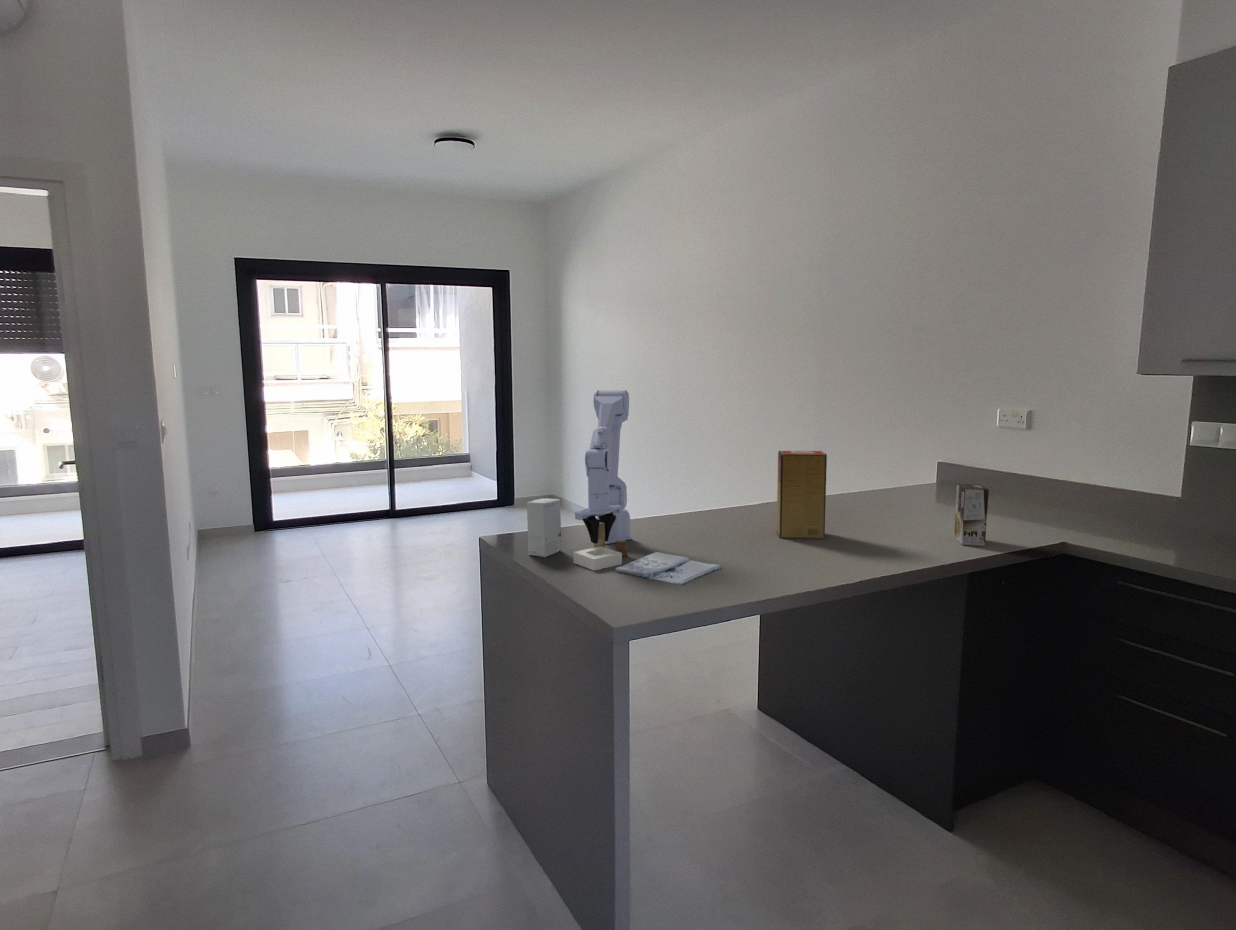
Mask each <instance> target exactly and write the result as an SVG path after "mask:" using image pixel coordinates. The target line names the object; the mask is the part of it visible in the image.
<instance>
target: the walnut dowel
mask: <svg viewBox="0 0 1236 930" xmlns="http://www.w3.org/2000/svg"><path fill="white" fill-rule="evenodd" d="M615 551H617V552H620V553H622V558H627V557H628V540H618V541H616V542H615Z"/></svg>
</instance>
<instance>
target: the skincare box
mask: <svg viewBox="0 0 1236 930" xmlns="http://www.w3.org/2000/svg"><path fill="white" fill-rule="evenodd" d="M526 513H527V514H526V515H527V546H528V548H527V549H528V550H527V551H528V553H527V554H528V555H529V556H536V557H541V558H547V557H549V556H551V555H554V554H557V553H560V552H561V551H562V523H561V499H558V498H548V497H547V498H546V497H543V498H539V499H534V500H531V501H527V502H526ZM559 551H560V552H559Z"/></svg>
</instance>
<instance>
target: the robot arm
mask: <svg viewBox="0 0 1236 930" xmlns="http://www.w3.org/2000/svg"><path fill="white" fill-rule="evenodd" d="M629 394H630V393H629V391H628V390H627V389H624V390H599V389H596V390H595V392H594V393H593V409H594V411H595V414H596V417H597V420H598V421H597V422H598V424H597V428H595V429H594V430H593V432H592V436H591V441H590V445H589V450H586V452H585V455H584V465H585V472H586V477H587V493H588V494H587V498H588V499H587V501H588V506H587V507H588V508H585V509H581V510H579V511H575V513H574V518H575V520H577V521H582V522H583V523H584V525H585V527H586V530H587V531H588V532H587V533H588V534H589V538H590V541H591V543H592V544H594V543H595V544H596V543H598V528H599V523H600V522H602V523H605V545H608V544H614V543H616V541H618V540H625V541H628V540H632V539H633V537H632V536H631V516H630V513H629V511H628V509H626V507H627V503H628V492H627V488H628V487H627V484H626V482H625V481H623V479H621V478H620V477H619V465H620V464H619V462H620V444H621V429H622V425H623V423H624V422H626V421H628V417H629V413H630V412H629V411H630V395H629Z"/></svg>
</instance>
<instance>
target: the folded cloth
mask: <svg viewBox="0 0 1236 930" xmlns="http://www.w3.org/2000/svg"><path fill="white" fill-rule="evenodd" d="M675 567H677V568H676V572H671V571H669V570H673V568H675ZM717 569H718V570H721V564H715V563H714V564H713V563H705V562H701V561H696V560H692V559H691V560H690V558H689V557H687V556H681V555H680V556H679V555H675V554H669V553H664V552H660V551H655V552H653V553H649V554H647V555H646V556H643V557H641V558H638V559H636V560H632V561H631V562H628V563H626V564H625V565H623V564H622V565H620V566H617V567H616V568H615V570H616V571H618V573H623V574H627V575H633V576H636V577H637V576H638V577H641V576H642V578H645V577H646V578H647V579H649V580H651V581H652V580H654V579H655V581H661V582H664V583H669V584H674V585H678V586H679V585H680V586H683V585H685V584H687V583H689V582H691V581H693V580H696V579H697V577H698V578H700V577H703V576H704V574H705V575H707V574H708V573H709V574H710V573H711V572H712V571H713V570H715V571H718V570H717ZM664 571H667V572H668V573H667V572H664ZM713 572H714V571H713ZM706 573H707V574H706ZM702 575H703V576H702ZM699 576H700V577H699ZM695 578H696V579H695Z"/></svg>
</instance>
